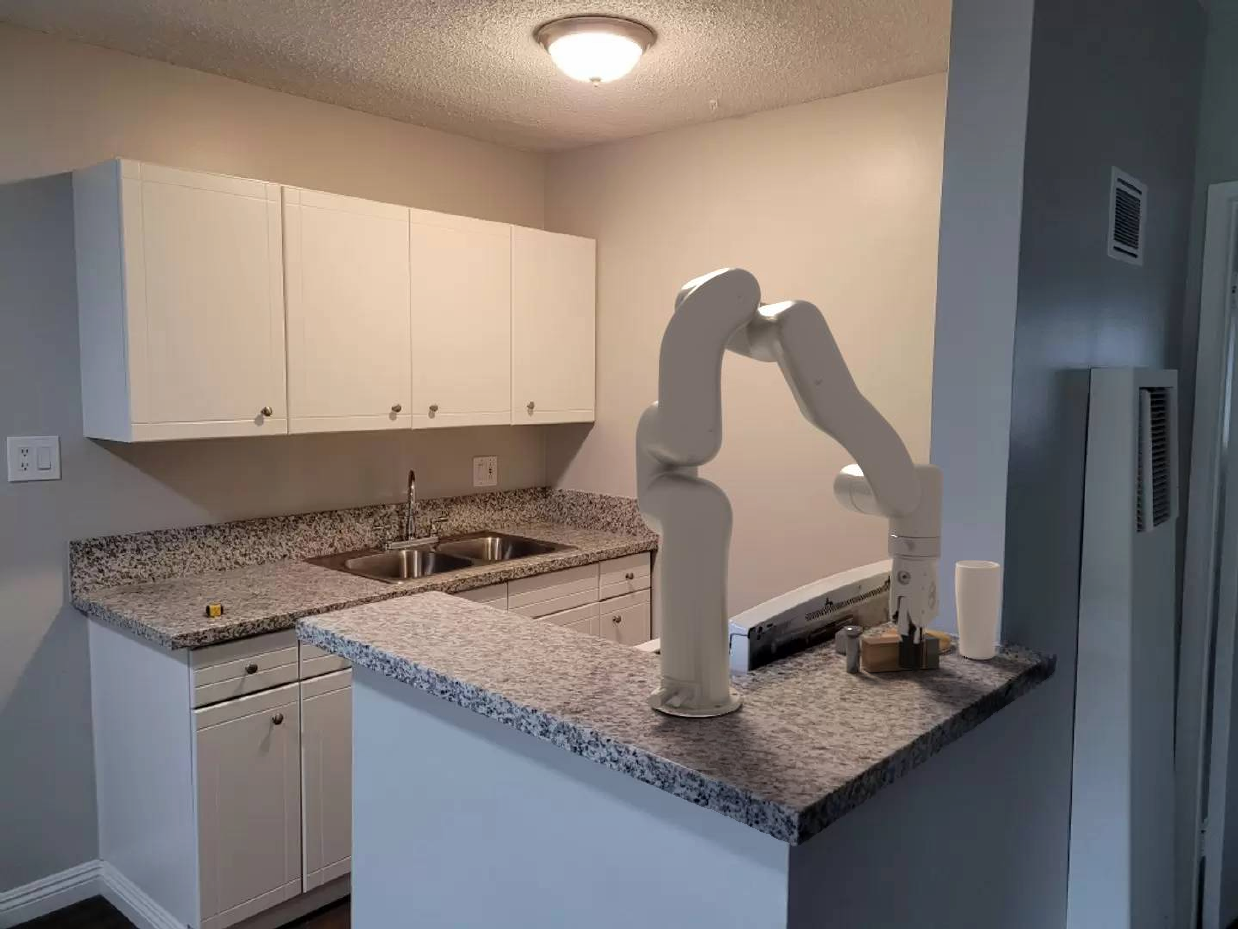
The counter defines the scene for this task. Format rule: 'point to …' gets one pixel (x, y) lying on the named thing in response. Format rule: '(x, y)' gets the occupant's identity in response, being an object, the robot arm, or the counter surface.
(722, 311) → the robot arm
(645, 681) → the counter surface
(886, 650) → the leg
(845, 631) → the pivot pin
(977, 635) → the drinking glass
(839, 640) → the stop block
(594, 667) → the counter surface
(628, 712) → the counter surface
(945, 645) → the wooden coaster
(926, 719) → the counter surface
